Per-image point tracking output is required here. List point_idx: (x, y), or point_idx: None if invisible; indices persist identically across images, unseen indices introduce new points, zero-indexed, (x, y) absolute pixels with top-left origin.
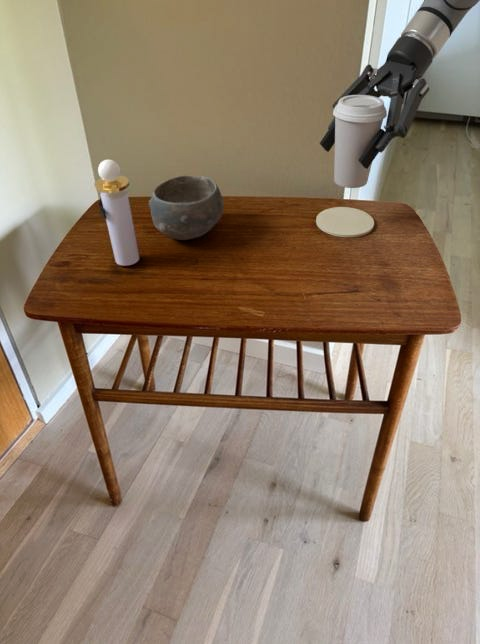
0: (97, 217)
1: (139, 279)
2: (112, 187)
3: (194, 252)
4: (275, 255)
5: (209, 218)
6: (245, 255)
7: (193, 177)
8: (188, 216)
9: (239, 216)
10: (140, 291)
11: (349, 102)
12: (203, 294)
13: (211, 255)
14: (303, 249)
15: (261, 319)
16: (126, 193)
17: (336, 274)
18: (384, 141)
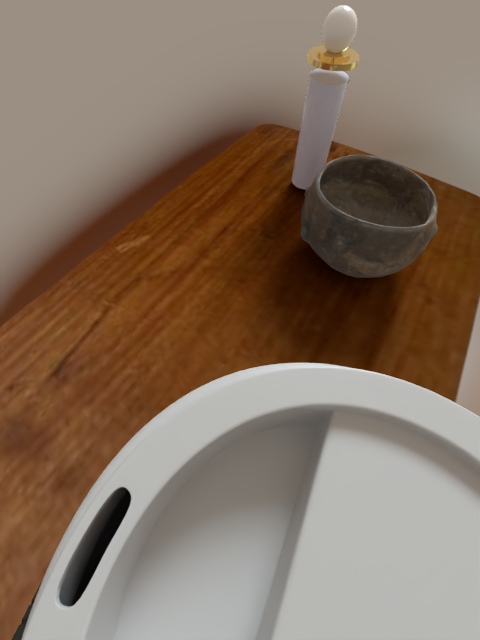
0: (434, 187)
1: (264, 184)
2: (315, 52)
3: (291, 241)
4: (221, 323)
5: (306, 226)
6: (247, 288)
7: (430, 215)
8: (307, 191)
9: (375, 336)
10: (242, 180)
11: (432, 531)
12: (197, 218)
13: (272, 254)
14: (210, 372)
15: (112, 244)
16: (320, 82)
17: (111, 374)
18: (20, 627)
